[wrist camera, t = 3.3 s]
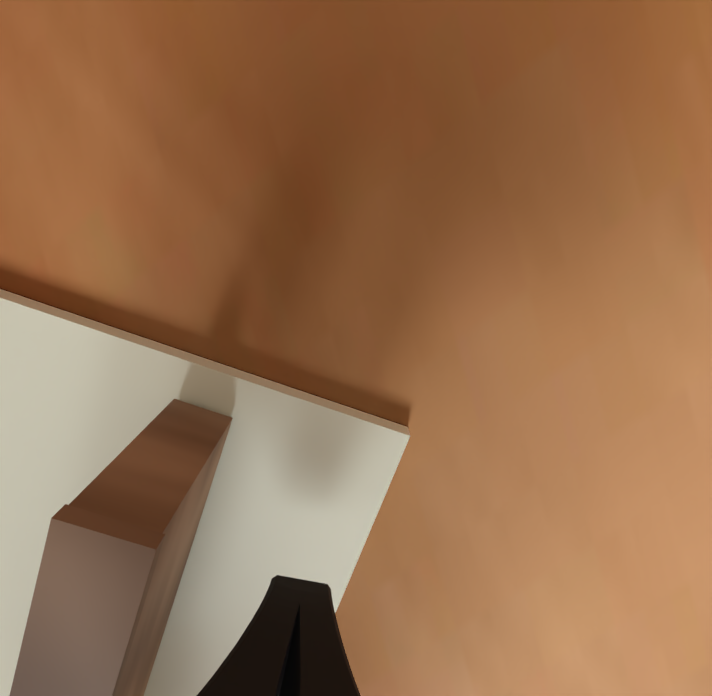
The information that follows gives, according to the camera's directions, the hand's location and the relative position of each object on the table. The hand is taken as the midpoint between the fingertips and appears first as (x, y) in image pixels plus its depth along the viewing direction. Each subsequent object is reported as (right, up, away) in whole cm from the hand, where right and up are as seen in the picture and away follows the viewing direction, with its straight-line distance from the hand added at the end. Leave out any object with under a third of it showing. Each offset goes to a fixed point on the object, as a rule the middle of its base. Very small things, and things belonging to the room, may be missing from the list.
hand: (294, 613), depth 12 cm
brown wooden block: (-4, 0, +3) cm, 5 cm away
